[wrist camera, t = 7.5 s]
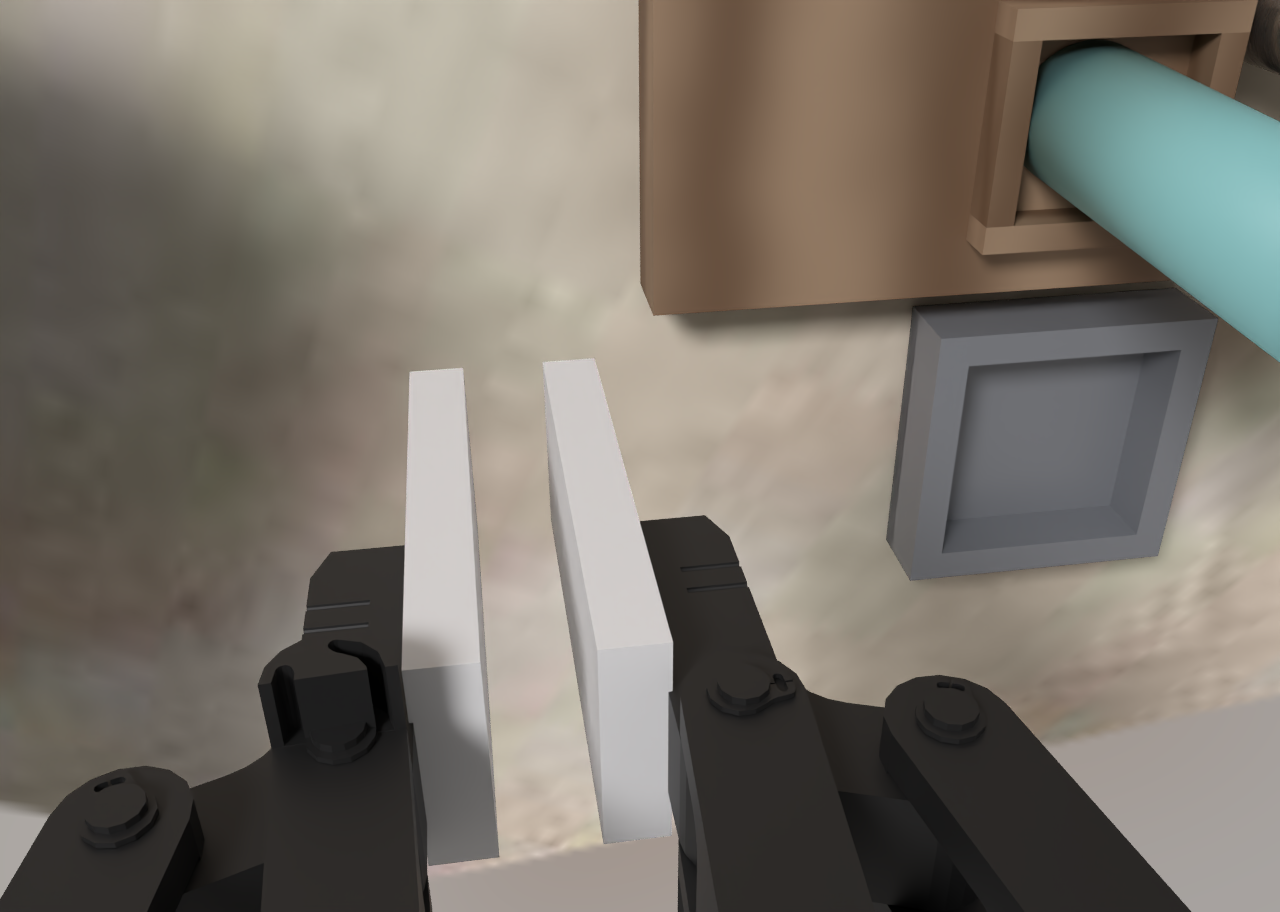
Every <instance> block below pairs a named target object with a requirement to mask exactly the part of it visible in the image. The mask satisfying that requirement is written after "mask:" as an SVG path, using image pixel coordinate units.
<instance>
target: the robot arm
mask: <svg viewBox="0 0 1280 912" xmlns="http://www.w3.org/2000/svg"><path fill="white" fill-rule="evenodd" d="M543 379H544V397H545V416H546V434H547V453H548V471H549V490H550V508H551V522H552V528H553V534H554V540H555V547H556V553H557V559H558V565H559V571H560V577H561V584H562V590H563V596H564V602H565V608H566V615H567V621H568V627H569V633H570V639H571V645H572V652H573V658H574V664H575V670H576V676H577V682H578V689H579V695H580V701H581V707H582V713H583V720H584V726H585V732H586V738H587V744H588V750H589V757H590V763H591V769H592V775H593V781H594V787H595V794H596V800H597V806H598V812H599V818H600V825H601V831H602V837H603V843H604V844H608V843H616V842H624V841H632V840H640V839H648V838H656V837H664V836H671V835H672V812H673V816H674V820H675V825H676V829H677V833H678V837H679V852H678V853H679V855H678V912H1191V911H1190V910H1189V909H1188V907H1187V906H1186V905H1185V904H1184V903H1183V902H1182V901H1181V900H1180V898H1179V897H1178V896H1177V895H1176V894H1175V893H1174V892H1173V891H1172V889H1171V888H1170V887H1169V886H1168V885H1167V884H1166V883H1165V882H1164V881H1163V880H1162V878H1161V877H1160V876H1159V875H1158V874H1157V873H1156V872H1155V870H1154V869H1153V868H1152V867H1151V866H1150V865H1149V864H1148V863H1147V861H1146V860H1145V859H1144V858H1143V857H1142V856H1141V855H1140V854H1139V852H1138V851H1137V850H1136V849H1135V848H1134V847H1133V846H1132V845H1131V843H1130V842H1129V841H1128V840H1127V839H1126V838H1125V837H1124V836H1123V835H1122V834H1121V832H1120V831H1119V830H1118V829H1117V828H1116V827H1115V825H1114V824H1113V823H1112V822H1111V821H1110V820H1109V819H1108V818H1107V816H1106V815H1105V814H1104V813H1103V812H1102V811H1101V810H1100V809H1099V808H1098V806H1097V805H1096V804H1095V803H1094V802H1093V801H1092V800H1091V799H1090V797H1089V796H1088V795H1087V794H1086V793H1085V792H1084V791H1083V790H1082V788H1081V787H1080V786H1079V785H1078V784H1077V783H1076V782H1075V781H1074V779H1073V778H1072V777H1071V776H1070V775H1069V774H1068V773H1067V772H1066V770H1065V769H1064V768H1063V767H1062V766H1061V765H1060V764H1059V763H1058V762H1057V760H1056V759H1055V758H1054V757H1053V756H1052V755H1051V754H1050V752H1049V751H1048V750H1047V749H1046V748H1045V747H1044V746H1043V745H1042V743H1041V742H1040V741H1039V740H1038V739H1037V738H1036V737H1035V736H1034V734H1033V733H1032V732H1031V731H1030V730H1029V729H1028V728H1027V727H1026V725H1025V724H1024V723H1023V722H1022V721H1021V720H1020V719H1019V718H1018V716H1017V715H1016V714H1015V713H1014V712H1013V711H1012V710H1011V709H1010V707H1009V706H1008V705H1007V704H1006V703H1005V702H1004V701H1002V700H1001V699H1000V698H999V697H997V696H996V695H995V694H994V693H992V692H991V691H990V690H989V689H987V688H985V687H982V686H980V685H978V684H975V683H973V682H970V681H968V680H966V679H961V678H955V677H949V676H942V675H935V676H925V677H916V678H914V679H911V680H909V681H907V682H905V683H902V684H900V685H898V686H897V687H896V688H895V689H894V690H893V691H892V693H891V694H890V695H889V696H888V697H887V698H886V702H885V708H883V707H875V706H868V705H860V704H852V703H845V702H840V701H836V700H831V699H827V698H824V697H822V696H819V695H817V694H814V693H811V692H809V691H808V690H806V689H805V687H804V685H803V684H802V682H801V681H800V679H799V677H798V676H797V674H796V673H795V672H793V671H792V670H791V669H789V668H788V667H786V666H785V665H784V664H782V663H781V662H779V661H777V659H776V656H775V654H774V651H773V649H772V646H771V643H770V641H769V638H768V636H767V633H766V630H765V628H764V625H763V623H762V620H761V618H760V615H759V612H758V610H757V607H756V605H755V602H754V599H753V597H752V594H751V592H750V589H749V587H747V581H746V579H745V576H744V573H743V571H742V568H741V567H739V560H738V558H737V555H736V553H735V550H734V547H733V545H732V542H731V540H730V537H729V536H728V535H727V534H726V533H725V532H724V531H722V530H721V529H720V528H719V527H718V526H717V525H715V524H714V523H713V522H712V521H711V520H710V519H708V518H707V517H706V516H705V515H703V516H692V517H681V518H670V519H659V520H648V521H639V517H638V514H637V510H636V507H635V503H634V499H633V496H632V492H631V488H630V485H629V481H628V478H627V474H626V470H625V467H624V463H623V459H622V456H621V452H620V449H619V445H618V441H617V438H616V434H615V431H614V427H613V423H612V420H611V416H610V412H609V409H608V405H607V402H606V398H605V394H604V391H603V387H602V383H601V380H600V376H599V373H598V369H597V365H596V362H595V358H590V359H577V360H563V361H549V362H543ZM303 629H304V634H303V635H302V640H301V641H299V642H297V643H295V644H293V645H292V646H290V647H288V648H286V649H284V650H282V651H280V652H279V653H278V654H277V655H276V656H275V657H274V658H273V659H272V660H271V661H270V662H269V663H268V664H267V665H266V666H265V667H264V670H263V673H262V675H261V678H260V680H259V683H258V688H259V693H260V697H261V702H262V707H263V711H264V716H265V720H266V725H267V729H268V734H269V738H270V743H271V749H270V750H269V751H268V752H267V753H266V754H265V755H264V756H262V757H261V758H259V759H258V760H256V761H255V762H253V763H252V764H250V765H249V766H247V767H245V768H243V769H241V770H238V771H236V772H234V773H232V774H229V775H227V776H225V777H222V778H219V779H216V780H213V781H210V782H207V783H205V784H202V785H199V786H196V787H193V788H190V789H189V786H188V784H187V781H185V780H184V779H182V778H181V777H179V776H178V775H176V774H175V773H173V772H172V771H170V770H166V769H161V768H155V767H149V766H142V767H134V768H126V769H118V770H116V771H113V772H110V773H108V774H105V775H102V776H100V777H97V778H94V779H92V780H90V781H88V782H87V783H85V784H84V785H82V786H81V787H79V788H78V789H76V790H75V791H73V792H72V793H70V794H69V795H67V796H66V797H65V798H64V800H63V801H62V802H61V803H60V804H59V805H58V807H57V808H56V809H55V810H54V811H53V813H52V814H51V815H50V816H49V818H48V819H47V821H46V823H45V824H44V826H43V828H42V830H41V831H40V833H39V835H38V836H37V838H36V840H35V841H34V843H33V845H32V846H31V848H30V850H29V851H28V853H27V855H26V857H25V858H24V860H23V862H22V863H21V865H20V867H19V868H18V870H17V872H16V874H15V875H14V877H13V879H12V880H11V882H10V884H9V885H8V887H7V889H6V890H5V892H4V894H3V895H2V897H1V899H0V912H432V905H431V897H430V890H429V882H428V875H427V857H428V864H429V866H432V865H440V864H448V863H456V862H464V861H472V860H480V859H488V858H496V857H499V847H498V832H497V816H496V801H495V786H494V771H493V755H492V740H491V725H490V710H489V694H488V679H487V664H486V649H485V633H484V618H483V603H482V588H481V572H480V557H479V542H478V527H477V515H476V505H475V494H474V483H473V472H472V461H471V450H470V439H469V428H468V417H467V406H466V395H465V384H464V373H463V368H454V369H440V370H427V371H413V372H410V378H409V415H408V451H407V488H406V525H405V545H404V546H393V547H382V548H371V549H360V550H349V551H338V552H331V553H330V554H329V555H328V557H327V558H326V559H325V560H324V562H323V563H322V564H321V565H320V567H319V568H318V569H317V571H316V572H315V573H314V574H313V576H312V577H311V578H310V585H309V592H308V599H307V611H306V614H305V621H304V628H303Z"/></svg>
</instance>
